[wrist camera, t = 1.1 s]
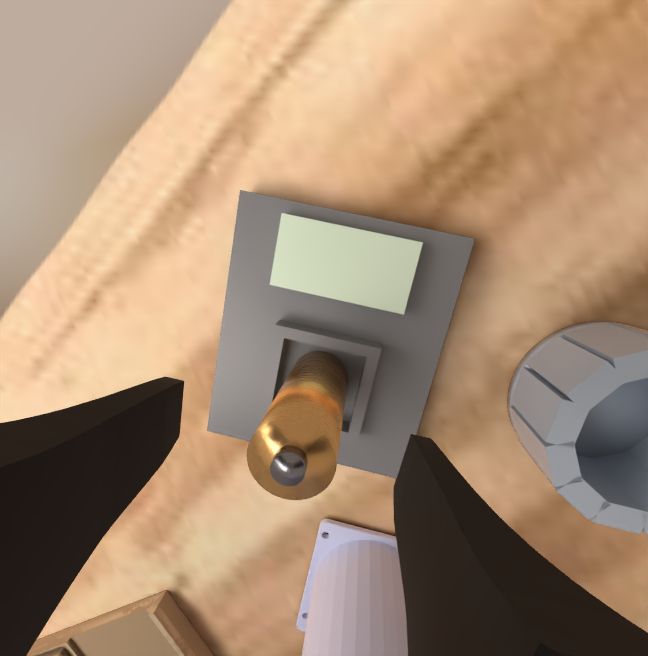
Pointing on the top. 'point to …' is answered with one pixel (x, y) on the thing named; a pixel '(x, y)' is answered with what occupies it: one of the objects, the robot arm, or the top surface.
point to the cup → (588, 418)
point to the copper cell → (301, 429)
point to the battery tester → (335, 319)
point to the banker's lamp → (129, 633)
